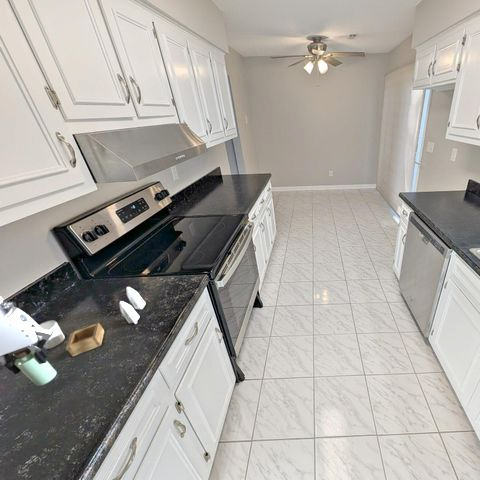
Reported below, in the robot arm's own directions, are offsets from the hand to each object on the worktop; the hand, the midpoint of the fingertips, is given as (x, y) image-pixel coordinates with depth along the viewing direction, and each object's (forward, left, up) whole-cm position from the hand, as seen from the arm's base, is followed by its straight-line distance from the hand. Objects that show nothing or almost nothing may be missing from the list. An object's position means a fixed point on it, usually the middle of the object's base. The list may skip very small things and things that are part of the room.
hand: (32, 363), depth 68 cm
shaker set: (+20, +21, -10) cm, 31 cm away
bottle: (0, 0, -6) cm, 6 cm away
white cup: (-5, +22, -10) cm, 25 cm away
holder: (+6, +14, -10) cm, 18 cm away
